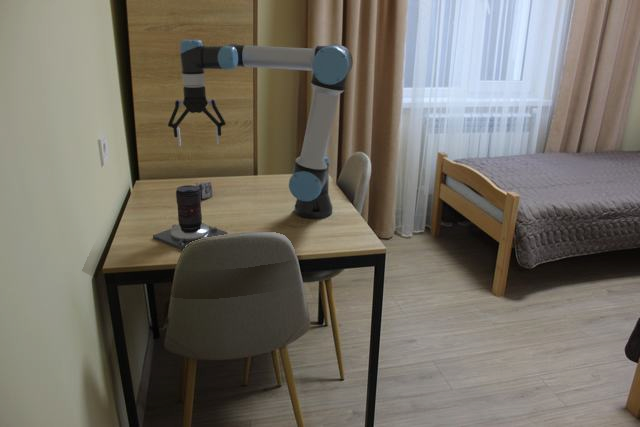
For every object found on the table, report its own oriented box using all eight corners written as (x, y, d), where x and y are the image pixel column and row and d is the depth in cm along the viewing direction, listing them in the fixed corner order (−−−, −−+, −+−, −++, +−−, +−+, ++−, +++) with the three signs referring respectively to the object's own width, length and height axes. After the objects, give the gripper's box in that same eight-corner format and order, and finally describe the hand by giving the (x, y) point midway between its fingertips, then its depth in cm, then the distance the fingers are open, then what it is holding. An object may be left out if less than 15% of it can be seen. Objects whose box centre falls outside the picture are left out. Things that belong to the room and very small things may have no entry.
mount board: (227, 235, 181) (227, 227, 180) (186, 252, 167) (186, 244, 166) (193, 223, 191) (192, 215, 190) (152, 238, 178) (151, 230, 177)
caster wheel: (201, 196, 228) (219, 196, 223) (184, 198, 218) (203, 198, 213) (200, 181, 227) (218, 181, 223) (183, 183, 217) (202, 182, 213)
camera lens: (205, 231, 176) (202, 190, 171) (181, 235, 173) (177, 193, 168) (200, 223, 183) (197, 183, 178) (177, 226, 180) (173, 186, 175)
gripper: (229, 84, 186) (233, 141, 193) (158, 85, 182) (164, 143, 189) (230, 86, 179) (233, 146, 187) (156, 87, 175) (162, 148, 182)
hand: (198, 145), depth 188 cm, fingers open, 13 cm apart
